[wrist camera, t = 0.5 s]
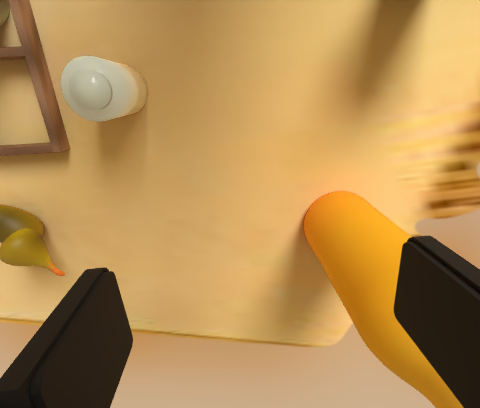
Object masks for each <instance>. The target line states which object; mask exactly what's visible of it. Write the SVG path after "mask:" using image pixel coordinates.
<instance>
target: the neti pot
mask: <svg viewBox="0 0 480 408" xmlns="http://www.w3.org/2000/svg"><path fill="white" fill-rule="evenodd" d="M43 233H44V225H43V223H42V222H41V221H40V220H39V219H38V218H37V217H36V216H34V215H33V214H31V213H29V212H27V211H24V210H22V209H19V208H15V207H11V206H6V205H1V204H0V243H2V245H1V247H0V259H1V261H3V262H4V263H6V264H9V265H14V266H42V267H46V268H48V269H49V270H51V271H52V272H53V273H55V274H57V275H59V276H64V275H65V273H64V272H62V271H60V270H59V269H57V268H56V267H55V266H54V265H53V263H52V262H51V260H50V258H49V255H48V251H47V248H46V245H45V242H44V240H43V239H42V235H43Z"/></svg>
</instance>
